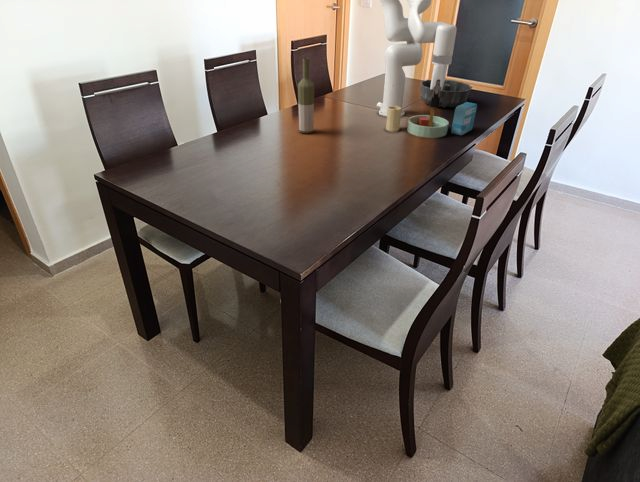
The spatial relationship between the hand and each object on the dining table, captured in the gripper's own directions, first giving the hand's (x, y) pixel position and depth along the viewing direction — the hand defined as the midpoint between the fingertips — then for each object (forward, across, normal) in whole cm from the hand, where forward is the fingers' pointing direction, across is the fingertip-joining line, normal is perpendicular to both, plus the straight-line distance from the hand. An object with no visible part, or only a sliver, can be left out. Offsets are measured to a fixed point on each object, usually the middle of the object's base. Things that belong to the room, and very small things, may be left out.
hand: (434, 106), depth 179 cm
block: (+12, -8, -3) cm, 15 cm away
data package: (+13, -8, +13) cm, 20 cm away
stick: (+11, 0, 0) cm, 11 cm away
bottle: (+13, +13, -52) cm, 55 cm away
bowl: (+12, -3, -2) cm, 13 cm away
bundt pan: (+13, -52, +4) cm, 54 cm away
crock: (+12, -1, -16) cm, 21 cm away
